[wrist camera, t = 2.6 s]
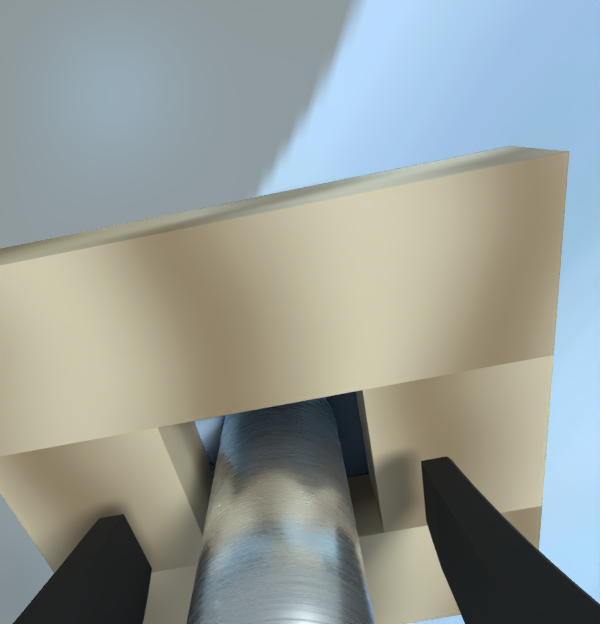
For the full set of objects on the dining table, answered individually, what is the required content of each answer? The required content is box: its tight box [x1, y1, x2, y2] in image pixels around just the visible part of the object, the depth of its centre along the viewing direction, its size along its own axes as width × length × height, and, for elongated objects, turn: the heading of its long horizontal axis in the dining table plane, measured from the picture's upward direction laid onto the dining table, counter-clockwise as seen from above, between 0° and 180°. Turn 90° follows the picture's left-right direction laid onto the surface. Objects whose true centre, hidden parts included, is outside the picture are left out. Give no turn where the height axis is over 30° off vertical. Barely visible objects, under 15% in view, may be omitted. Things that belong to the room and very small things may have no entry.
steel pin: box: [187, 397, 375, 624], centre depth 9 cm, size 4×4×9 cm
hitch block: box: [0, 146, 569, 624], centre depth 12 cm, size 14×14×2 cm
